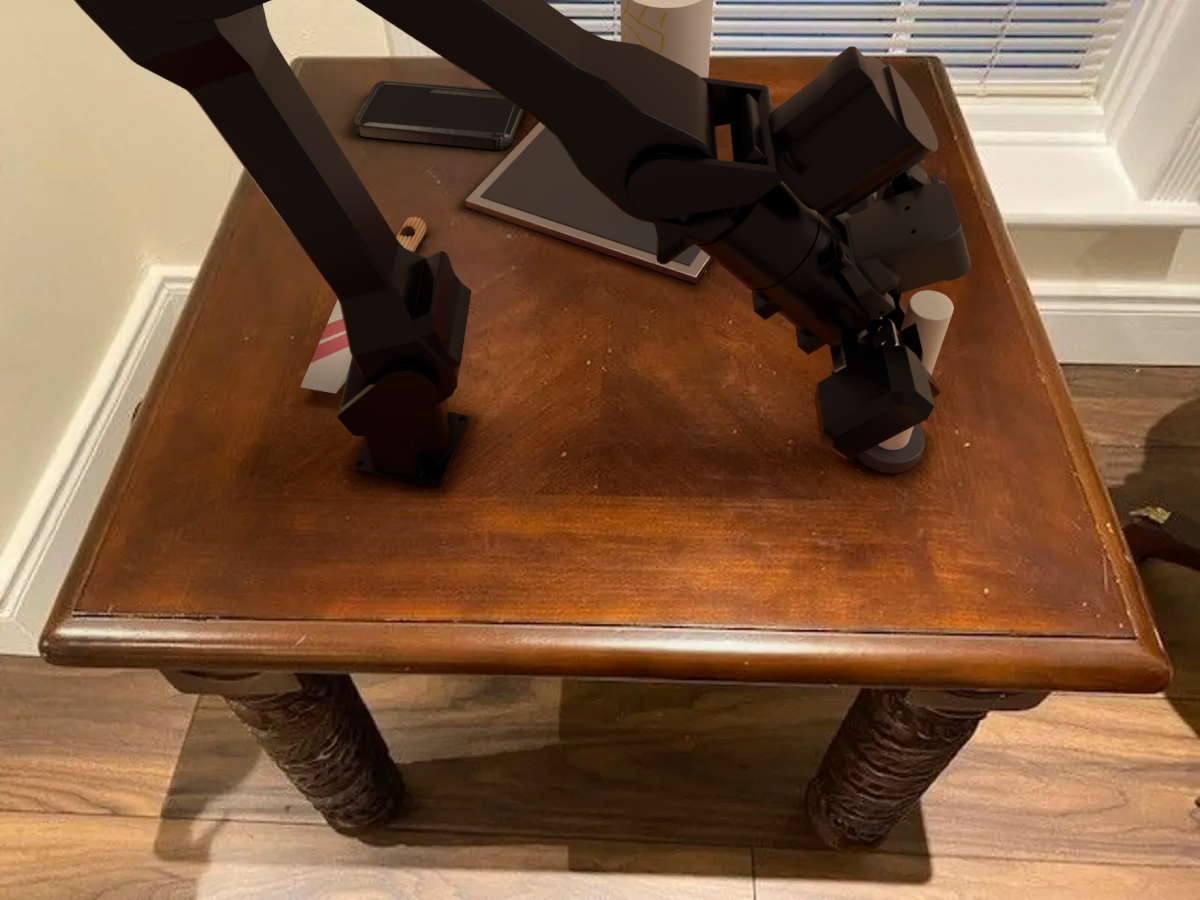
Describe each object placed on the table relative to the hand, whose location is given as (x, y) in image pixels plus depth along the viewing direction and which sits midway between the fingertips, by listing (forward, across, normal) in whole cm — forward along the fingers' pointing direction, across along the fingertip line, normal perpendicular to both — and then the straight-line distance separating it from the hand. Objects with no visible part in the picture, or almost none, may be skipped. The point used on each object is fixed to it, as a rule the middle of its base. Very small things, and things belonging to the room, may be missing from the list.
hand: (929, 378), depth 67 cm
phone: (-21, +40, +32) cm, 55 cm away
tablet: (-9, +28, +20) cm, 36 cm away
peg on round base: (+4, 0, +6) cm, 7 cm away
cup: (-6, +42, +17) cm, 45 cm away
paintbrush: (-23, +14, +33) cm, 43 cm away
